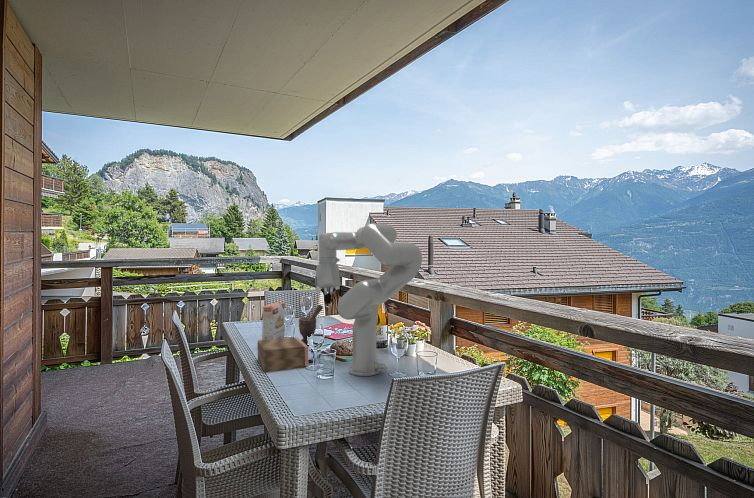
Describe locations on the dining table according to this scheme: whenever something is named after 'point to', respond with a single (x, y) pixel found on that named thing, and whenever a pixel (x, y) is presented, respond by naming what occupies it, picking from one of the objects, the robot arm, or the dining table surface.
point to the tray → (304, 352)
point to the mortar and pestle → (308, 324)
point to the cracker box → (273, 321)
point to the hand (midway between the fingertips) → (327, 303)
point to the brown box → (280, 354)
